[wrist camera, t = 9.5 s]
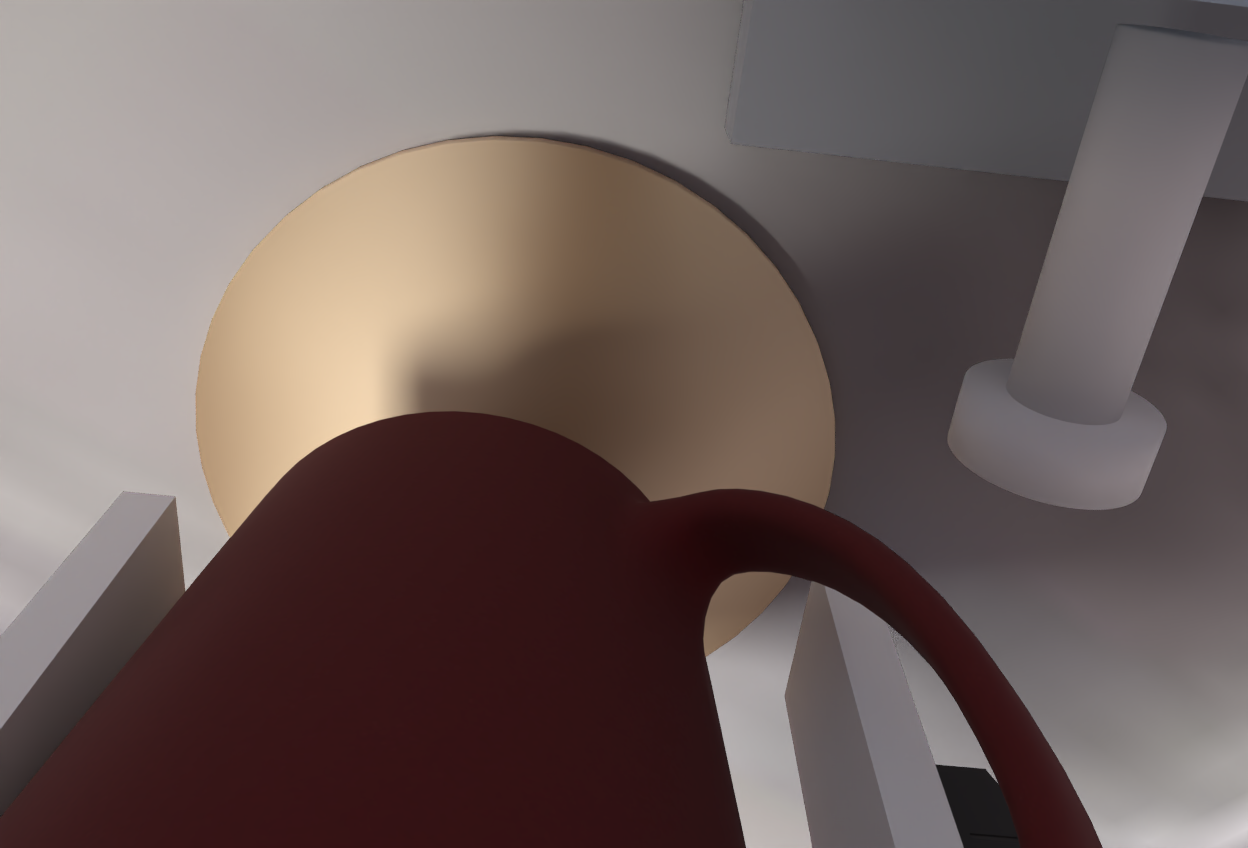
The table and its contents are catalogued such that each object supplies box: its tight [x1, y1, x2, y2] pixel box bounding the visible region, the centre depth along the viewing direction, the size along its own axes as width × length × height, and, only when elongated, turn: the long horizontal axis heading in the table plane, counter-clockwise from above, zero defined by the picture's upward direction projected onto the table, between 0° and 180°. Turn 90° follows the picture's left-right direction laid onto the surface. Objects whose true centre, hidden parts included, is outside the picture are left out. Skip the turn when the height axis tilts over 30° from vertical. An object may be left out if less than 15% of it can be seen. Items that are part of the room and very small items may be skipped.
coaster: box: [196, 136, 835, 657], centre depth 20 cm, size 12×12×1 cm
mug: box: [0, 411, 1102, 848], centre depth 12 cm, size 12×9×11 cm
